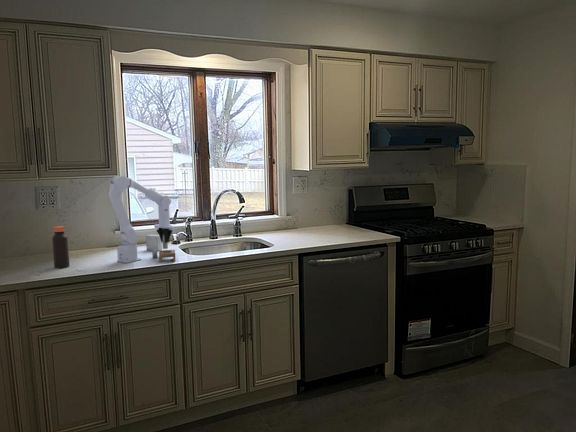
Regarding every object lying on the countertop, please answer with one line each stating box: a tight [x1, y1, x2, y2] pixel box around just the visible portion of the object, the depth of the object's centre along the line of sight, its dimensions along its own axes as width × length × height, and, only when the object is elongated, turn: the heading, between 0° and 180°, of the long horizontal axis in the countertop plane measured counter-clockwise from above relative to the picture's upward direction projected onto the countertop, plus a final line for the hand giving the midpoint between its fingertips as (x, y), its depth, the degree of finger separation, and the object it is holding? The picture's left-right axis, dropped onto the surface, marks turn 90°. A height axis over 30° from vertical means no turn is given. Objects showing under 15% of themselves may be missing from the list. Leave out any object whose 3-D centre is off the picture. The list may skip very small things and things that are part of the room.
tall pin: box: [162, 234, 169, 250], centre depth 256 cm, size 3×3×8 cm
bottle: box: [51, 225, 70, 269], centre depth 231 cm, size 7×7×20 cm
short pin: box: [151, 250, 159, 260], centre depth 250 cm, size 3×3×4 cm
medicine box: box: [145, 234, 163, 252], centre depth 272 cm, size 8×4×9 cm, turn 74°
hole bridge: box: [158, 249, 176, 263], centre depth 244 cm, size 9×8×4 cm
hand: (165, 242), depth 257 cm, fingers closed on tall pin, 3 cm apart
